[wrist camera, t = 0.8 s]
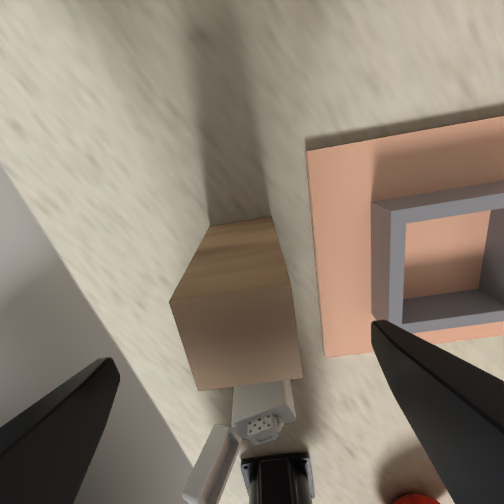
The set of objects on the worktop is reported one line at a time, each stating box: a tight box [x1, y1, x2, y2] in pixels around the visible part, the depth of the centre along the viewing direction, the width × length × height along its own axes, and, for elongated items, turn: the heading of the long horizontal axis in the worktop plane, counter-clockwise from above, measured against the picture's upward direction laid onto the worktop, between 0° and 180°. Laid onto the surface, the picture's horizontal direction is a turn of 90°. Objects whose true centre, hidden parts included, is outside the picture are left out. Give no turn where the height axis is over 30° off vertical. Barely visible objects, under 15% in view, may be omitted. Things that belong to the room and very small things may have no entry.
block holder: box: [306, 116, 504, 358], centre depth 16 cm, size 15×15×3 cm
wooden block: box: [169, 217, 303, 391], centre depth 13 cm, size 4×4×9 cm
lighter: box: [182, 380, 296, 504], centre depth 18 cm, size 7×2×8 cm, turn 118°
